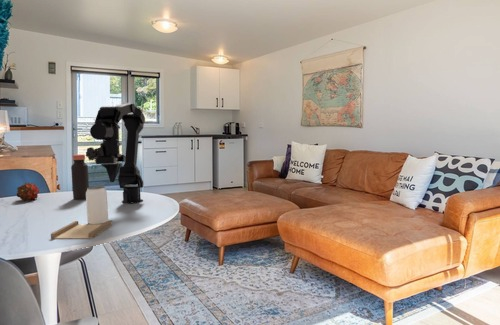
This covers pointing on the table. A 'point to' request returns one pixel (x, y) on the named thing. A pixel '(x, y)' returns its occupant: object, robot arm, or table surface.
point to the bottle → (79, 177)
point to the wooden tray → (80, 230)
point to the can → (96, 205)
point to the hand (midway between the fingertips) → (112, 182)
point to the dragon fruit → (27, 191)
